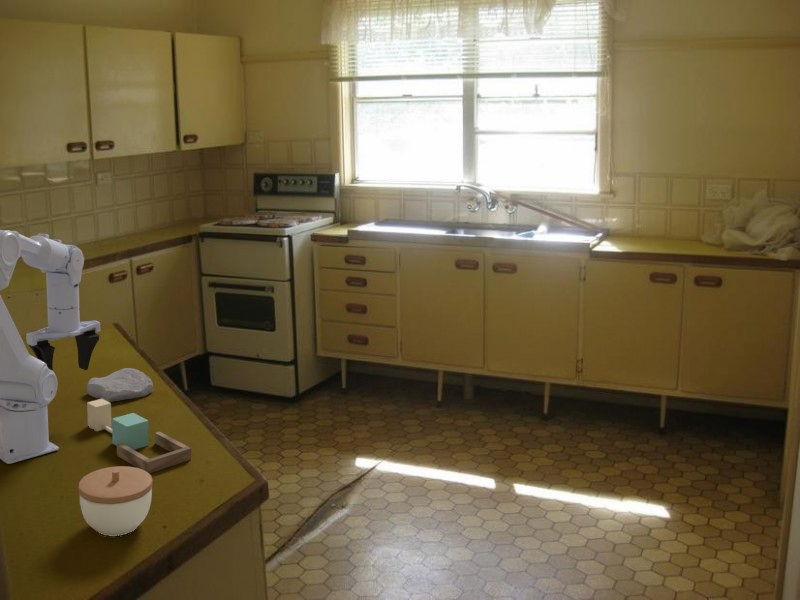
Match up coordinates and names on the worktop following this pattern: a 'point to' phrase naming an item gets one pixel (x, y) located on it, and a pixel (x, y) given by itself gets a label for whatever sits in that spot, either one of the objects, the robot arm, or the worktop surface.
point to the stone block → (120, 385)
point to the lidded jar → (115, 499)
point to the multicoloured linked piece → (118, 425)
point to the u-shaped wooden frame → (175, 456)
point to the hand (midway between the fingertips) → (66, 373)
